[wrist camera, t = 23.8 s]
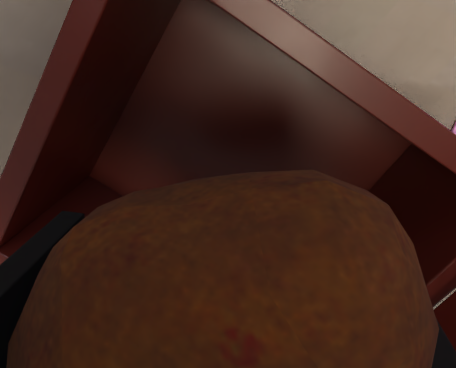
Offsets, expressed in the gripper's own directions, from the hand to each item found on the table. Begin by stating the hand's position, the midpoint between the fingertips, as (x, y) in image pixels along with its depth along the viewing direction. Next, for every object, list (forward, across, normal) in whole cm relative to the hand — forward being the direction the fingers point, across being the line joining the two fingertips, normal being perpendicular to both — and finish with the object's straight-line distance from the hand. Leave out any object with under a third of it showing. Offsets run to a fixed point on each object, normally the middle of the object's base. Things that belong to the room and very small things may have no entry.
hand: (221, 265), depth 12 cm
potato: (0, 0, 0) cm, 0 cm away
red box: (+12, 0, 0) cm, 12 cm away
